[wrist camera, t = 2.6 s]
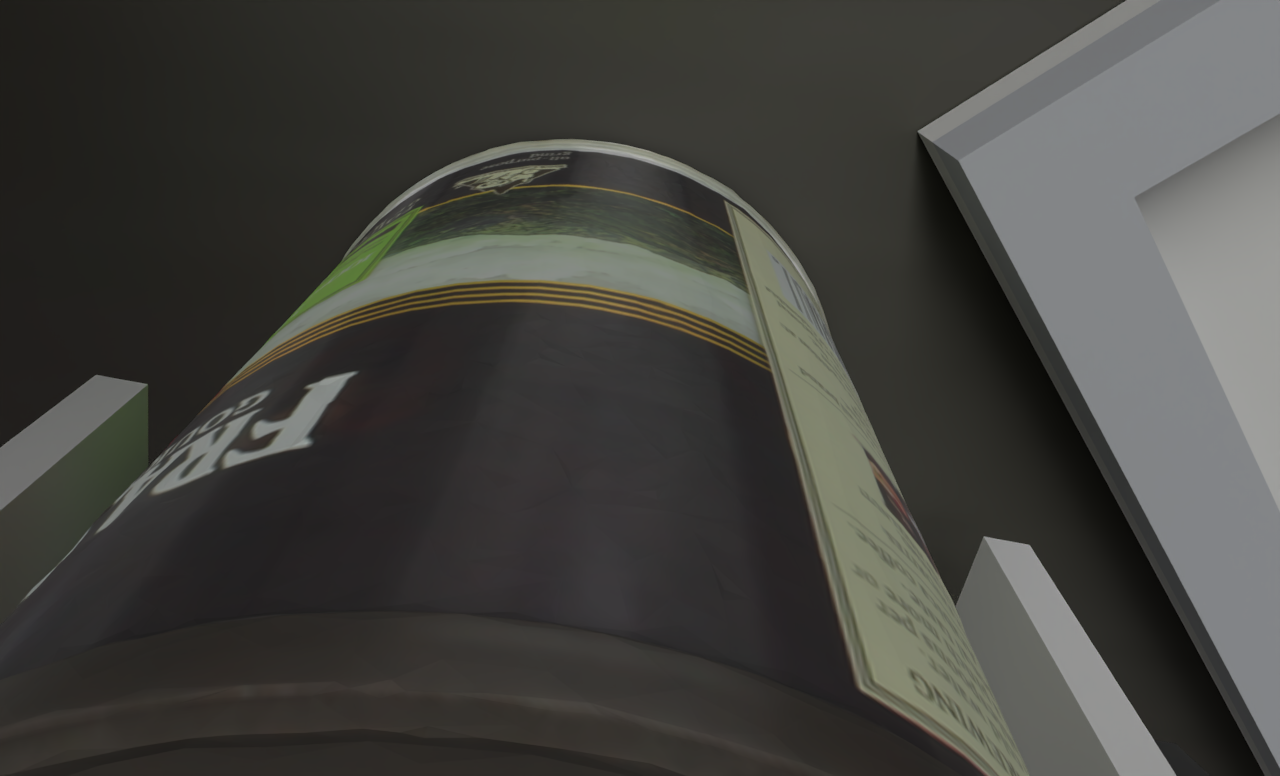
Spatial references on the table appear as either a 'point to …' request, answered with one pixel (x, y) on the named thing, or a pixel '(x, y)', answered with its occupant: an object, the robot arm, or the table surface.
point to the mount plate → (1155, 293)
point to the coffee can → (517, 521)
